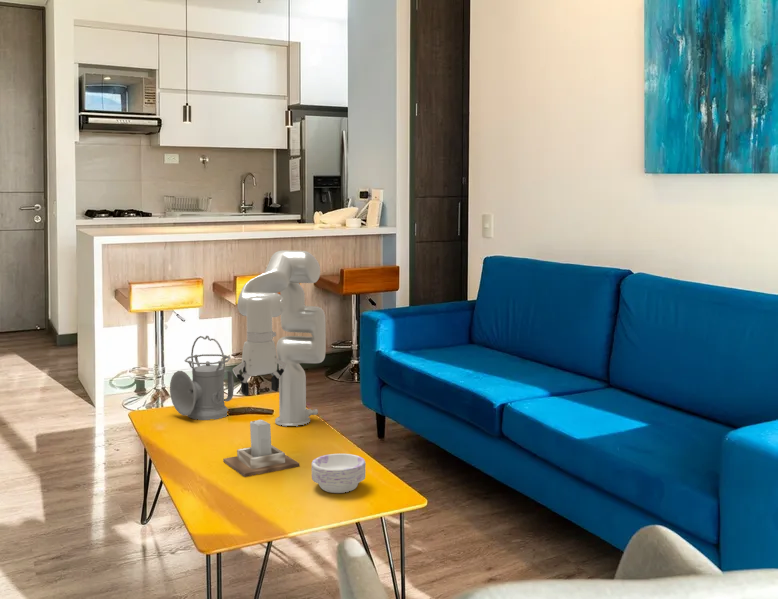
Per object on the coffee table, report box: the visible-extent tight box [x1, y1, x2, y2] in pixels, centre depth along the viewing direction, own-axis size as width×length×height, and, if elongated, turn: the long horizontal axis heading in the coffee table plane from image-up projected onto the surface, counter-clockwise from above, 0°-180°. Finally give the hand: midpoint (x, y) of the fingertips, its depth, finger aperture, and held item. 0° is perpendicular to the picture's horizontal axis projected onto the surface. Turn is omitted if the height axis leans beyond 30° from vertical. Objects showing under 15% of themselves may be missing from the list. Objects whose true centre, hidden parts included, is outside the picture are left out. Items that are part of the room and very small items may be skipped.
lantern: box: [169, 335, 235, 421], centre depth 302 cm, size 21×22×30 cm
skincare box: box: [249, 419, 272, 457], centre depth 248 cm, size 6×4×12 cm
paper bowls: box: [311, 453, 367, 494], centre depth 229 cm, size 15×15×8 cm
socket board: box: [222, 444, 300, 478], centre depth 249 cm, size 18×16×4 cm
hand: (260, 392), depth 247 cm, fingers open, 9 cm apart
